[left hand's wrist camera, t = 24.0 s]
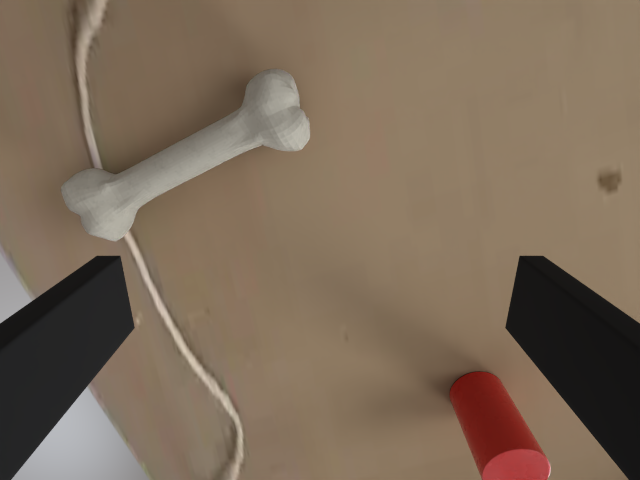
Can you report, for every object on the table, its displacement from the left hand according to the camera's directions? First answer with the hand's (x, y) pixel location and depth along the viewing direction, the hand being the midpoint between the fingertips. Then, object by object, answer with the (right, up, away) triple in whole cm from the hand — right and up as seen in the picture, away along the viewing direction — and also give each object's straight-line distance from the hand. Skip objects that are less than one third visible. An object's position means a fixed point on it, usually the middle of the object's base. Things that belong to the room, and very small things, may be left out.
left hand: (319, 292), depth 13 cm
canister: (+16, -14, +27) cm, 35 cm away
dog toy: (-10, +9, +19) cm, 23 cm away
